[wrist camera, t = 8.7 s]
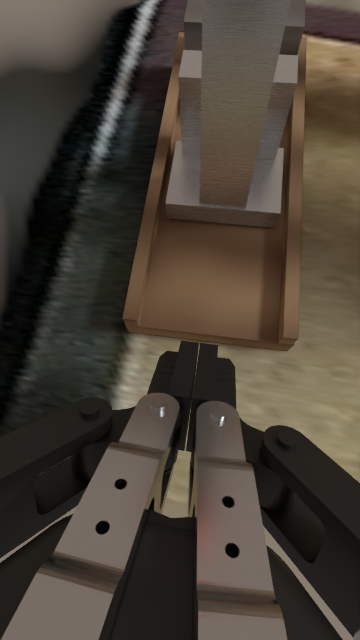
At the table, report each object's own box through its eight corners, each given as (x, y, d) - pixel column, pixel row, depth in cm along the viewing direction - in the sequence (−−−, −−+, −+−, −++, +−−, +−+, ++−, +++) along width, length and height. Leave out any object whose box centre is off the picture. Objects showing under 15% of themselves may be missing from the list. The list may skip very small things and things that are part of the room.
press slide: (274, 231, 22) (471, -278, 6) (166, 222, 22) (100, -266, 7) (279, 153, 24) (436, -380, 8) (179, 146, 24) (150, -366, 9)
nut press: (287, 350, 21) (317, 323, 16) (129, 331, 22) (108, 299, 17) (297, 73, 29) (320, -8, 24) (179, 67, 30) (176, -12, 24)
